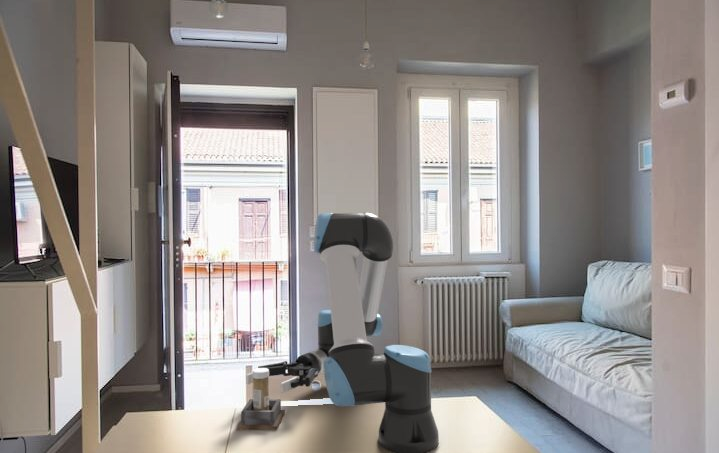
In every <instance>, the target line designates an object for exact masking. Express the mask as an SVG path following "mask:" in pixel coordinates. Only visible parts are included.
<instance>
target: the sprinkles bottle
mask: <svg viewBox="0 0 719 453" xmlns="http://www.w3.org/2000/svg"><path fill="white" fill-rule="evenodd" d="M252 372H253V386H252V387H253V388H252V393H253V394H252V395H253V396H252V399H253V406H254V410H269V399H270V387H269V383H270V381H269V377H270V376H269V369H267V368H258V367H257V368H254V369H253V370H252Z"/></svg>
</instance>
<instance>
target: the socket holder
mask: <svg viewBox="0 0 719 453" xmlns="http://www.w3.org/2000/svg"><path fill="white" fill-rule="evenodd" d="M281 401H282V400H281V398H274V399H273V398H272V399H271V398H269V410H254V406H253V398H250V399H249V400H248V402H247V403H246V404H245V406H244V407H243V409H242V410H241V412H240V420H239V422H238V424H237V425H236V429H235V430H236V431H278V429H279V427H280V425H281V422H282V421H283V418H284V416H285V414H286V410H285V409H282V406H281V405H282V402H281Z"/></svg>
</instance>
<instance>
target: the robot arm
mask: <svg viewBox="0 0 719 453" xmlns="http://www.w3.org/2000/svg"><path fill="white" fill-rule="evenodd" d="M315 221H316V222H315V228H314V238H313V253H316V254H319V258H320V261H321V262H323V263H324V264H325V266H326V277H327V286H328V298H329V307H330V309H323V310H321V311H319V312H318V314H317V315H318V317H317V337H318V339H317V341H318V342H317V345H318V346H317V348H316V349H314V350H311V351H309V352H307V353H304V354H301V355H299V356H297V358H296V360H295V361H293V362H291V363H288V360H285V361H282V362H277V363H271V364H265V365H259V366H258V367H257V368H267V369H269V377H272V376H284V377H287V376H288V377H289V376H292V377H291V378H289V379H287V380H284V381H282V382H280V393H281V394H285V393H287V392H290V391H291V390H294V389H296V388H297V387H303V386H304V385H305V387H310V386H311V384H312V383H313V381H314V379H315V378H317V377H318V376H319V374H321V373H323V374H324V380H325V381H324V382H325V384H326V385H325V386H326V389H327V393H328V396H329V397H328V398H329V399H330V400H331V402H332V403H333V405H335V407H336V406H337V407H351V408H353V407H355V406H360V405H362V406H363V405H372V404H382V403H384V404H385V405H384V408H385V409H384V412H383V415H382V417H381V418H382V419H381V422H380V424H379V427H378V442H379V444H380V445H381V446H382V447H384V448H385V449H387V450H389V451H390V452H394V453H428V452H430V451H432V450H434V449H436V447H437V446H438V445H439V439H440V438H439V430H438V427H437V424H436V421H435V417H434V415H433V412H432V367H431V358H430V355H429V353H428V352H426V351H425V350H423V349H421V348H418V347H415V346H409V345H404V344H390V345H387V346H385V347H384V349H383V353H375V346H374V344H372V343H371V342H369V341H368V338H367V337H373V336H380V335H381V334H382V331H383V319H382V316H381V314H379V310H380V303H381V299H382V298H381V297H382V293H383V287H384V283H385V276H386V271H387V265H388V262H389V260H391V258H392V256H393V252H394V240H393V234H392V233H391V232H392V231H391V230H390V228H389V226H388V225H387V224H386V222H385V221H384V220H383V219H382V218H380V217H379V216H378V215H376V214H373V213H370V212H335V213H334V212H328V213H326V212H325V213H320V214H318V215H317V218H316V220H315ZM361 255H362V256H363V260H362V261H363V262H362V268H361V274H360V280H359V272H358V267H357V259H358V258H359V257H360V256H361ZM245 379H246V383H245V384H246V385H250V384H252V383H253V371H252V372H250V373H247V374H246V375H245Z"/></svg>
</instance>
